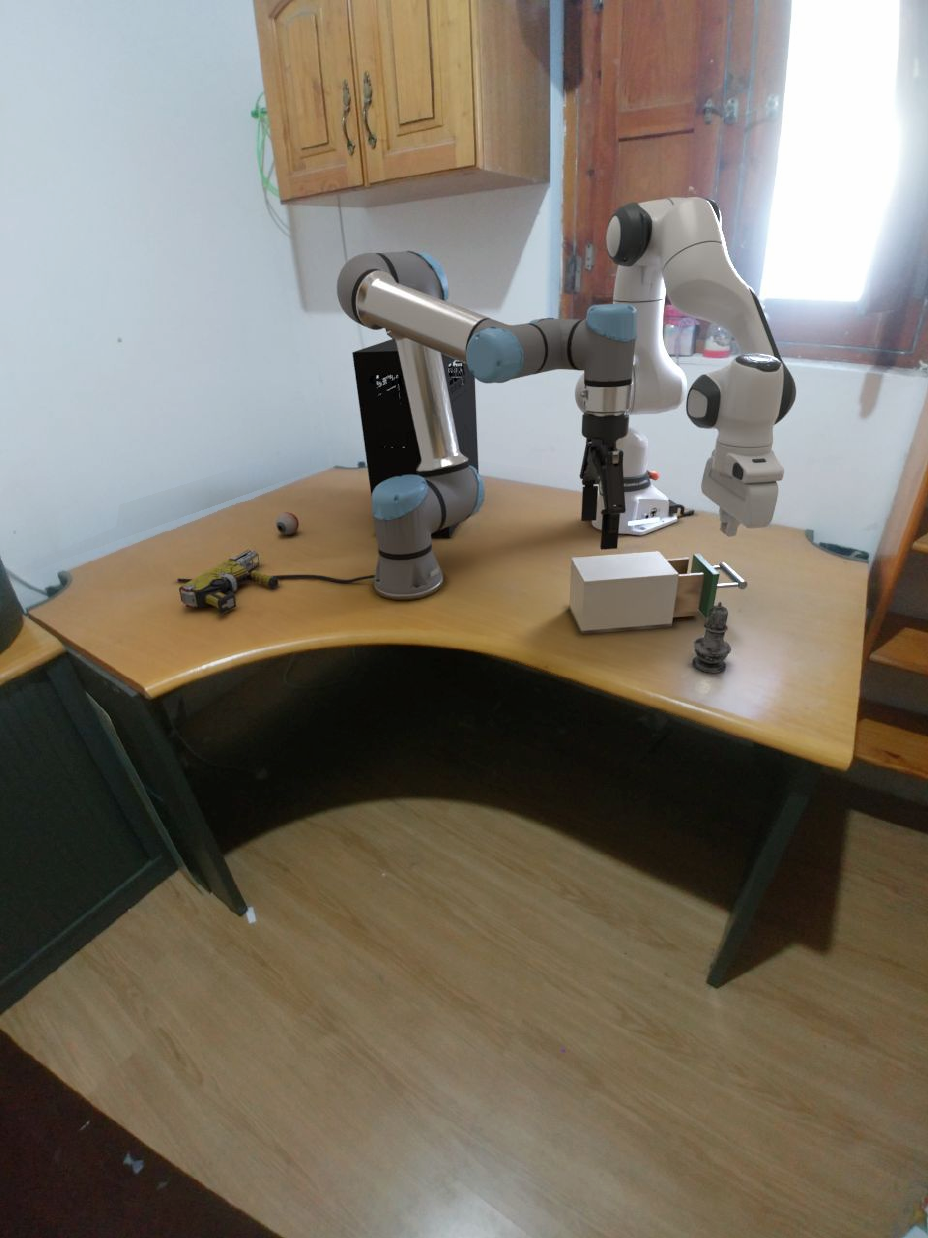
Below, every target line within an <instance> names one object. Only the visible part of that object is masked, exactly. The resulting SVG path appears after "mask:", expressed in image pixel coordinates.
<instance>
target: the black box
mask: <svg viewBox="0 0 928 1238" xmlns="http://www.w3.org/2000/svg"><path fill="white" fill-rule="evenodd" d="M351 354H352V361H353V367H354V376H355V384H356V391H357V399H358V406H359V407H358V408H359V415H360V421H361V428H362V436H363V444H364V452H365V458H366V459H365V461H366V466H367V474H368V481H369V489H370V496H371V498H372V493H373V490H374V489H375V487H376V486H377V485H378V484H380V483H381V482H383V481H385V480H387V479H389V478H392V477H396V476H399V477H400V476H403V475H417V471H416V468H417V467H418V465H419V463H420V462H421V457H420V452H419V447H418V443H417V438H416V433H415V429H414V424H413V419H412V415H411V410H410V405H409V401H408V396H407V391H406V387H405V382H404V377H403V373H402V368H401V363H400V359H399V354H398V350H397V345H396V342H395V340H394V339H392V338H391V339H388V340H386V341H382V342H380V343H376V344H373V345H370V346H367V347H364V348H361V349H358V350H355V351H352V352H351ZM441 357H442V362H443V368H444V373H445V378H446V383H447V389H448V394H449V399H450V404H451V410H452V415H453V420H454V425H455V431H456V436H457V441H458V446H459V451H460V453H461V454H463V455H464V456H465V457H467V458H468V462H469V465H470V466H472V467H474V468H475V469H476V470H477V471H478V474H479V471H480V470H479V450H478V449H479V445H478V424H477V423H478V422H477V421H478V419H477V398H476V397H477V396H476V378H475V376H474V375H473V373H471V372H470V370H469V368H468V365H467V364H465V363H463V362H460V361H458V360H456V359H453V358H451V357H449V356H447V355H444V354H442V353H441ZM459 524H460V522H458V523H456V524H453V525H451V526H448V527H446V528H443V529H441V530H438V531H436V532H433V533H431V538H446V539H447V538H448V539H450V538H451V536H452V535H453V533H454V532H455V530H456V528H457V527H458V525H459Z"/></svg>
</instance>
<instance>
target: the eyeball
mask: <svg viewBox="0 0 928 1238" xmlns="http://www.w3.org/2000/svg"><path fill="white" fill-rule="evenodd" d="M299 525H300V522H299V519H298V517H297V516H296V515H295V514H294V513H292V512H287V511H286V512H282V513H280V514H279V515H278V516H277V517H276V520H275V527H276V529H277V530H278V531H279V532H280V533H281V534H282V535H285V536H286V535H287V536H289V535H293V534H295V533H296V532H297V531H298V529H299Z"/></svg>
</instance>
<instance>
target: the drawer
mask: <svg viewBox="0 0 928 1238" xmlns="http://www.w3.org/2000/svg"><path fill="white" fill-rule="evenodd" d="M665 559H666V560H667V561H668V562H669V564H670V565H671V566H672V567H673V568H674V569H675V570H676V571H677V573H678V574H679V577H678V584H677V591H676V598H675V605H674V612H673V618H681V617H683V618H684V617H695V616H696V617H697V616H698V613H699V612H700V613H701V614H702V616H703V617H704V618H705V619H708V614H709V610H710V608H711V607H713V606H715V602H716V596H717V591H718V589H728V588H729V589H730V588H738V589H739V590H745V589H747V588H748V582H747V581H746V580H745V579H744V578H743V577H742V576H741V575H740V574H738V573H737V572H736V571H735V570H734V569H733V568H732V567H731V566H730V565H729V564H727V562H725V561H724V562H720V563H719V564H718V565H711V564H710V563H709V561H707V560H706V559H705V558H704V557H703V556H702V555H701V554H700V553H694V554H692V561H691V567H690V572H689V573H688V570H689V564H690V558H689V557H676V558H675V557H674V558H665ZM718 570H719V571H720V572H722V574H723V575H725V576H726V577H727V578H728V580H730V581H731V582H728V583H719V580H720V572H719V571H718Z"/></svg>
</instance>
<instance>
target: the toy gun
mask: <svg viewBox="0 0 928 1238" xmlns="http://www.w3.org/2000/svg"><path fill="white" fill-rule="evenodd" d="M255 558H257V561H256V562H255V561H254V560H255ZM259 565H260V557H259V552H258V551H256V550H253V551H252V550H251V549H246V550H245V551H243V552H242V553H240V554H238V555H236V556H234V557H233V558H229V559H227V560H226V561H223V562H222V563H220V564H219V565H217V566H215V567H213V568H211V569H209V570H208V571H205V572H203V573H202V574H199V576H196V577H194V578H192V579H193V580H191V581H189V582H185V583H184V584H182V585H180V586H179V587H178V592H179V597H180V601H181V602H182V604H183V605H185V607H186V608H189V609H193V608H204V607H205V608H206V607H208V606H213V607H214V608H217V609H218V612H219V615H223V614H225V613H227V612H229V611H231V610H233V609H235V608H237V603H236V594H235V592H237V591H238V587H239V586H240V585H243V584H245V583H248V580H250V579H251V581H255V582H256V583H259V584H262V585H264V586H268V587H269V588H271V589H275V588H276V587H278V585H279V578H276V577H272V576H273V575H270V574H266V573H263V572H261V571H258V570H255V569H254V568H255V567H258V566H259ZM253 569H254V570H253ZM250 570H252V571H251V572H250V573H249V571H250ZM270 576H271V577H270Z"/></svg>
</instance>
